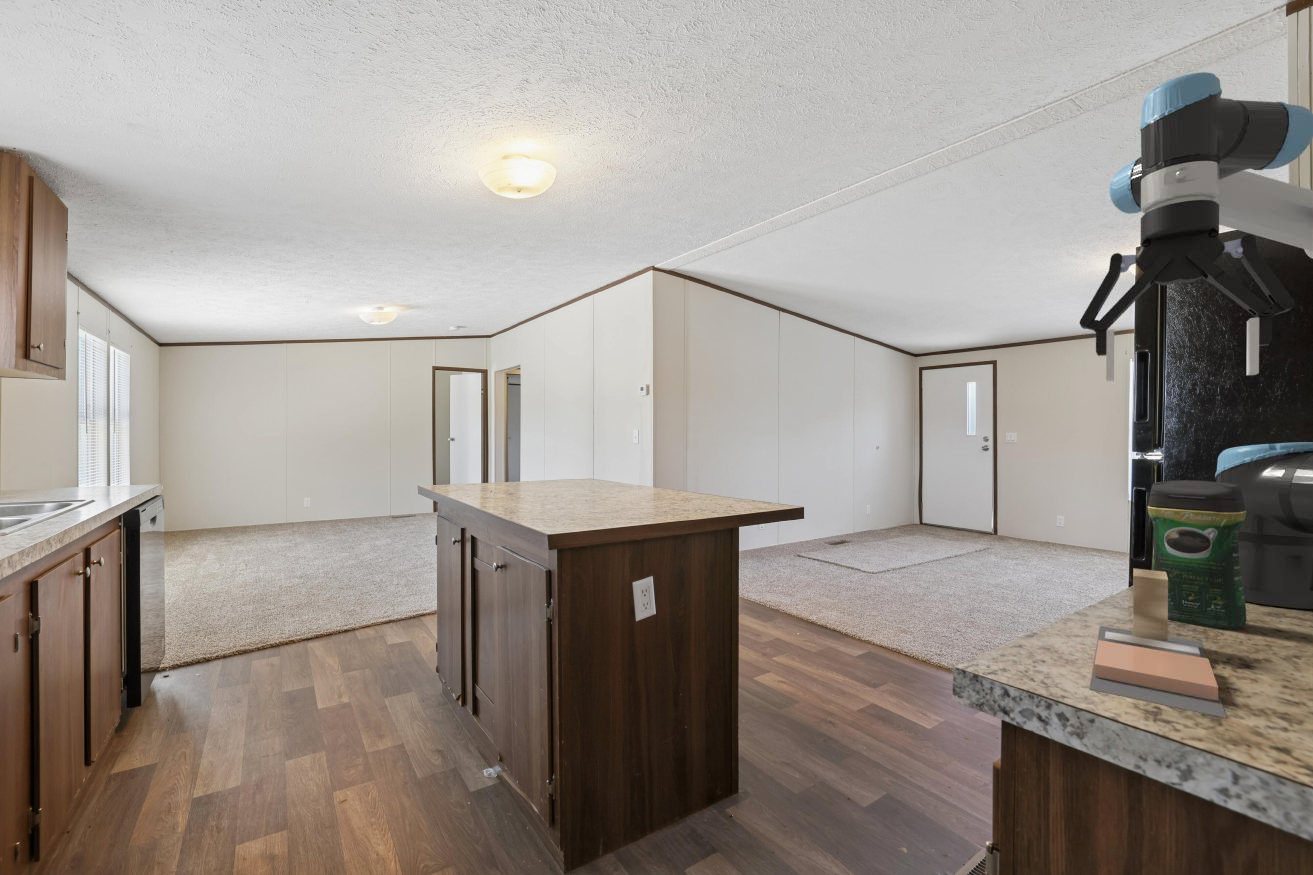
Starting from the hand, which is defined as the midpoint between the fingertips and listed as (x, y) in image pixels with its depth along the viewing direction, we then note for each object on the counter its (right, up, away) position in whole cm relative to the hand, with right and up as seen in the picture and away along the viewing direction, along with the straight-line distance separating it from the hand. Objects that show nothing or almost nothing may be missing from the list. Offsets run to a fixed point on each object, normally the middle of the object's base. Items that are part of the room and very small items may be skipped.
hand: (1177, 377), depth 77 cm
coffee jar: (+5, -32, +3) cm, 33 cm away
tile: (-13, -30, -12) cm, 35 cm away
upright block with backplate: (-9, -31, -7) cm, 33 cm away
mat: (-13, -32, -13) cm, 37 cm away
